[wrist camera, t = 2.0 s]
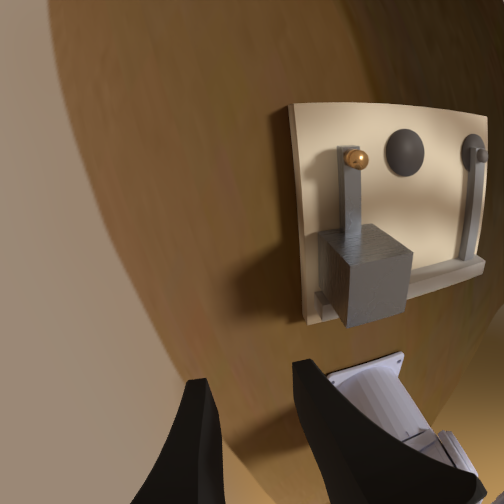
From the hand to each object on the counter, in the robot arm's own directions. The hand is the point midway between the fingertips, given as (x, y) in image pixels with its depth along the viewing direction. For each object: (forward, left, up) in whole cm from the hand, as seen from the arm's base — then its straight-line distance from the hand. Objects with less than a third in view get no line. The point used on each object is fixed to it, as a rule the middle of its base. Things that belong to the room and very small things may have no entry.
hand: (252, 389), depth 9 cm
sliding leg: (+2, -7, -8) cm, 11 cm away
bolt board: (+2, -13, -10) cm, 16 cm away
